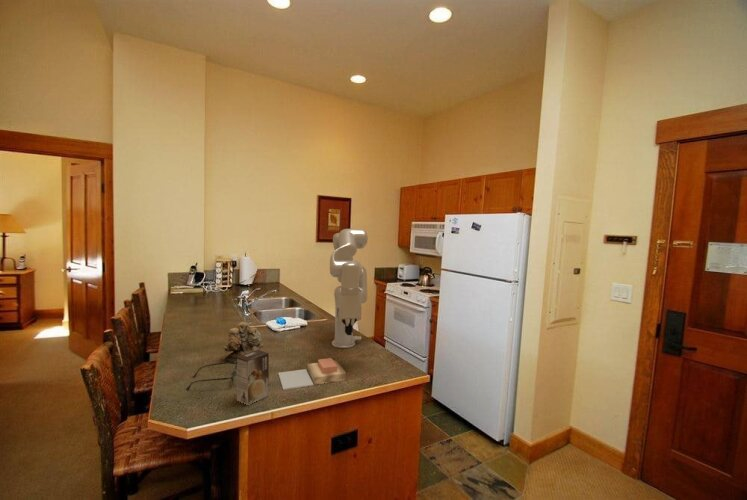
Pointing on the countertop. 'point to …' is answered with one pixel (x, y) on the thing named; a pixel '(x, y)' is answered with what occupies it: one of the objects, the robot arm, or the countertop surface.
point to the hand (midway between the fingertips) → (348, 334)
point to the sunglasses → (218, 378)
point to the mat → (295, 379)
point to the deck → (325, 374)
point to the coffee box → (252, 377)
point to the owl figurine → (242, 341)
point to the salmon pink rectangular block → (327, 365)
